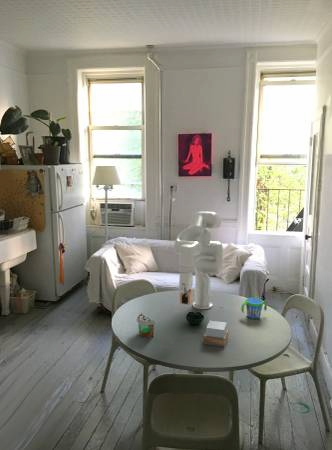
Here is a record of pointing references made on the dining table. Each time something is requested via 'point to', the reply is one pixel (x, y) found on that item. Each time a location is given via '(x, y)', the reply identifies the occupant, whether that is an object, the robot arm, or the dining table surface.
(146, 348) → the dining table surface
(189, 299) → the terracotta cube
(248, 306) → the snack cup
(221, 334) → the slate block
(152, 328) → the food container
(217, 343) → the walnut slab
